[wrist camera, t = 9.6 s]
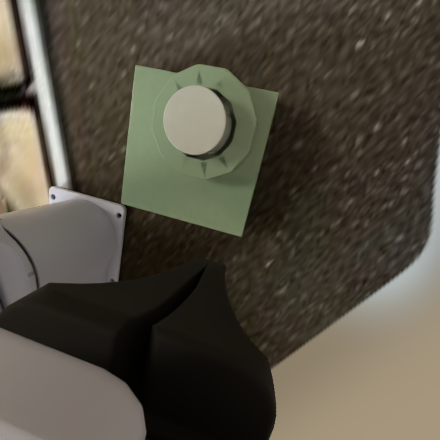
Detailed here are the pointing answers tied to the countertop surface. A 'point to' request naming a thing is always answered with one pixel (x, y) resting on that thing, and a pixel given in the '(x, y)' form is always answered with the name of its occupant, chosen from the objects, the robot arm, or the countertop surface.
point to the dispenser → (196, 164)
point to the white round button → (197, 121)
